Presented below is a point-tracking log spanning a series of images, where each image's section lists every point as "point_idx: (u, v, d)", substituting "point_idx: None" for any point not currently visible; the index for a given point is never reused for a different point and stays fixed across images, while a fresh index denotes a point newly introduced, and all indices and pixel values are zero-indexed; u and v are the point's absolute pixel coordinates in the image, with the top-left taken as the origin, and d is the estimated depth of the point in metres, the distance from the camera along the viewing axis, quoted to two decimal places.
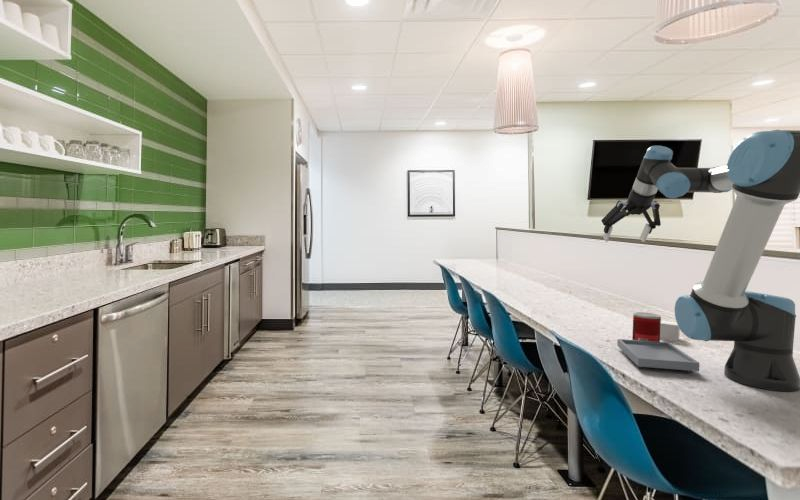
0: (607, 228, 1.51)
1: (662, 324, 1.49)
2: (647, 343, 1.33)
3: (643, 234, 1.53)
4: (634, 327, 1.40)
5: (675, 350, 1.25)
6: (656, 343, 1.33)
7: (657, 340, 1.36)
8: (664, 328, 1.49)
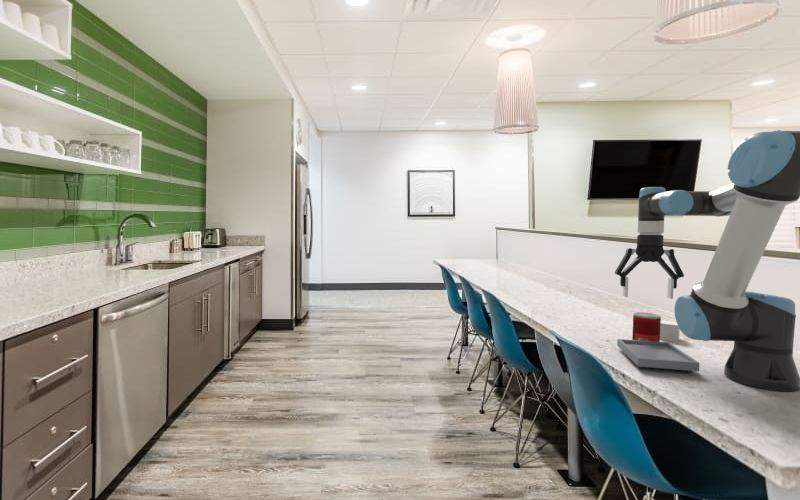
0: (623, 279, 1.40)
1: (662, 324, 1.49)
2: (647, 343, 1.33)
3: (669, 290, 1.38)
4: (634, 327, 1.40)
5: (675, 350, 1.25)
6: (656, 343, 1.33)
7: (657, 340, 1.36)
8: (664, 328, 1.49)
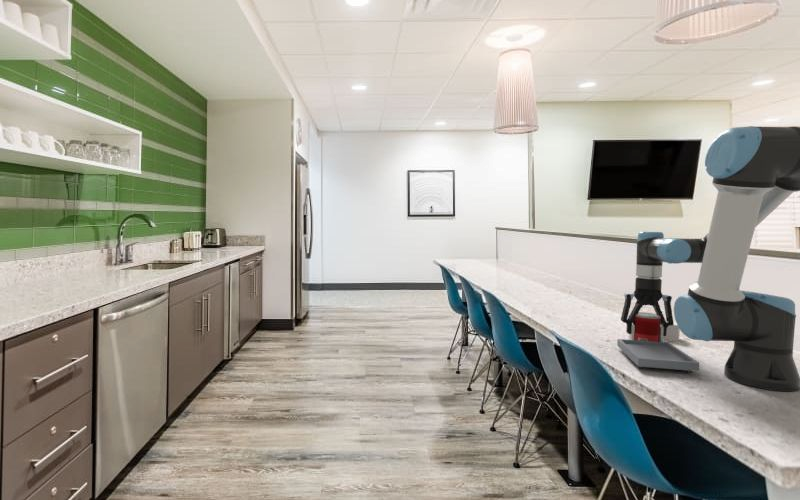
0: (629, 327, 1.40)
1: None
2: (647, 343, 1.33)
3: None
4: None
5: (675, 350, 1.25)
6: (656, 343, 1.33)
7: (657, 340, 1.36)
8: None
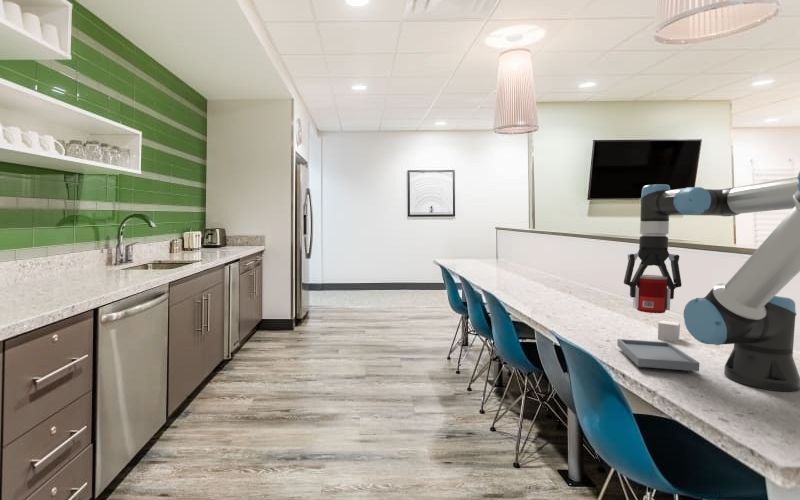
0: (632, 290, 1.29)
1: (662, 324, 1.49)
2: (647, 343, 1.33)
3: None
4: None
5: (675, 350, 1.25)
6: (656, 343, 1.33)
7: (663, 303, 1.25)
8: (664, 328, 1.49)
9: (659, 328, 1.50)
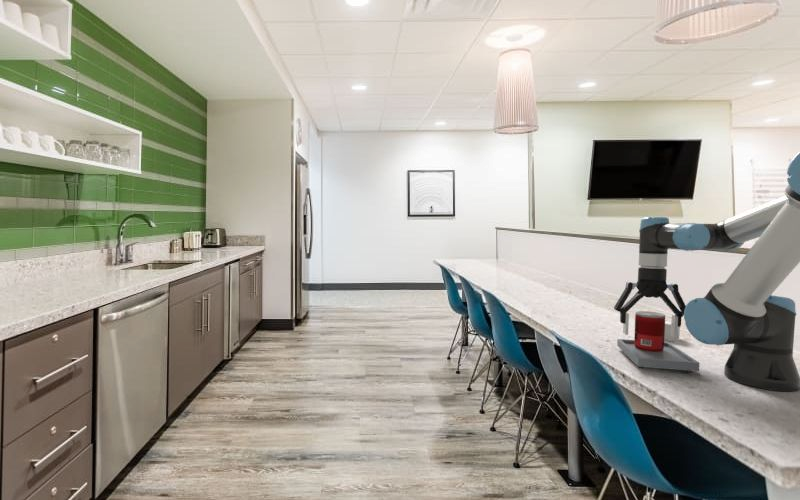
0: (623, 316, 1.29)
1: None
2: None
3: (672, 328, 1.27)
4: (636, 327, 1.29)
5: (675, 350, 1.25)
6: None
7: (661, 341, 1.25)
8: None
9: None
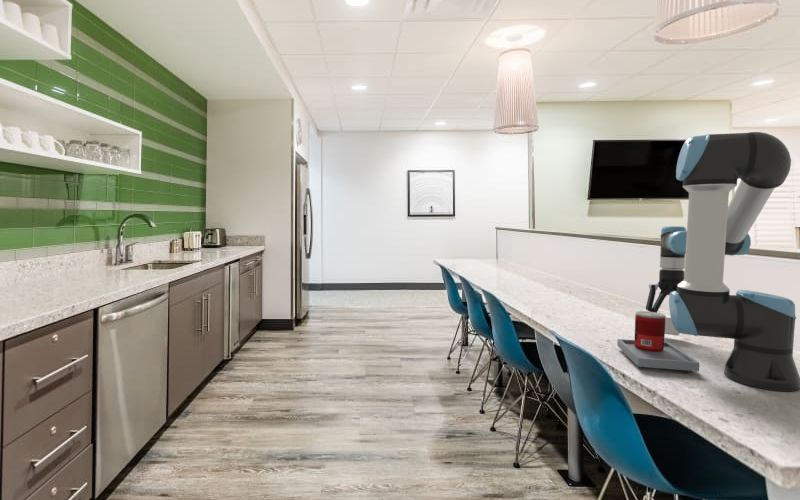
0: None
1: None
2: None
3: None
4: (636, 327, 1.29)
5: (675, 350, 1.25)
6: None
7: (661, 341, 1.25)
8: None
9: None
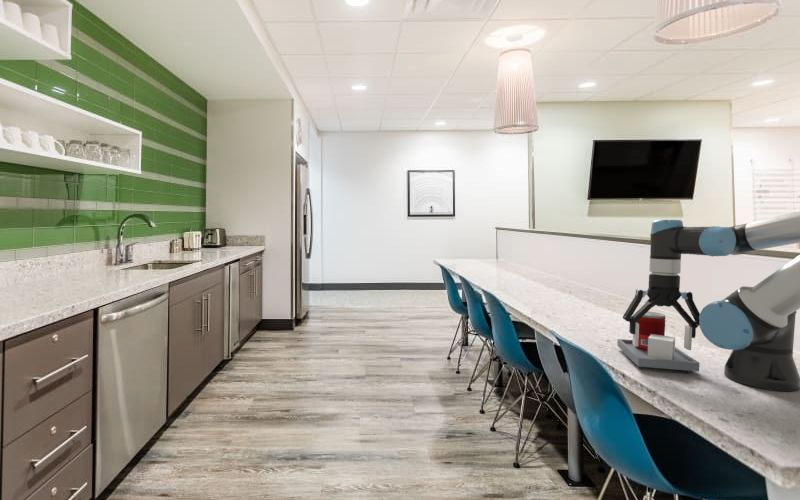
0: (632, 326, 1.20)
1: (653, 339, 1.18)
2: None
3: (686, 340, 1.18)
4: None
5: (675, 350, 1.25)
6: None
7: None
8: (655, 344, 1.18)
9: (649, 344, 1.18)
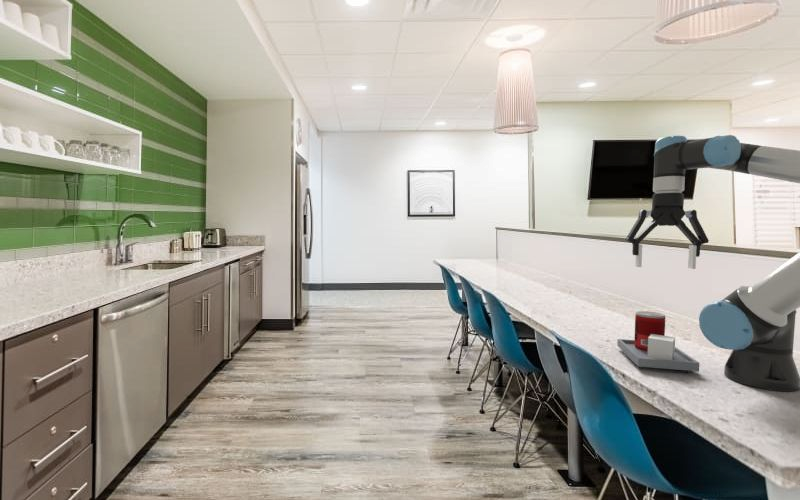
0: (635, 247, 1.19)
1: (653, 339, 1.18)
2: None
3: (690, 259, 1.16)
4: (636, 327, 1.29)
5: (675, 350, 1.25)
6: None
7: None
8: (655, 344, 1.18)
9: (649, 344, 1.18)
